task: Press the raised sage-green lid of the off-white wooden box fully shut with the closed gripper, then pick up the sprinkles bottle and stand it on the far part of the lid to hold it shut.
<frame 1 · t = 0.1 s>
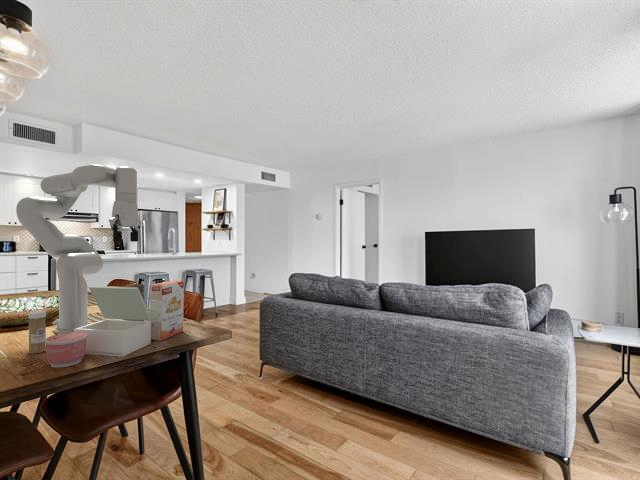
hand: (126, 241, 137), 37 cm above the table, tool pointing down, fingers open, 9 cm apart
container: (66, 363, 105), on the table
cracker box: (167, 336, 135), on the table
lid: (120, 303, 122), point 15 cm above the table, hinge at 60.0°
candle: (133, 335, 135), on the table
sprinkles bottle: (37, 352, 115), on the table
box: (113, 348, 119), on the table
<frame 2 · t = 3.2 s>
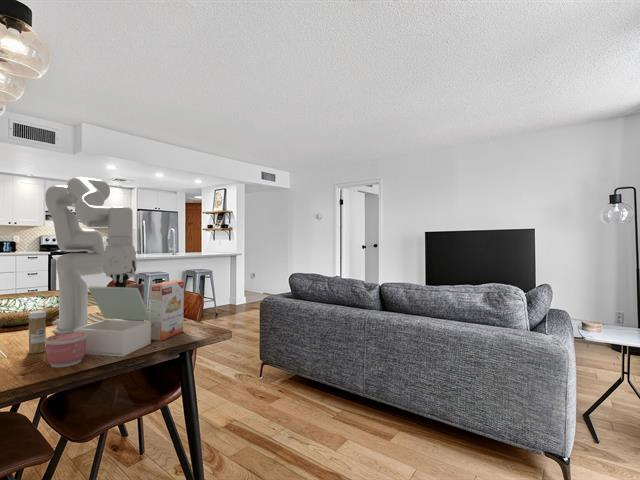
hand: (120, 293, 122), 19 cm above the table, tool pointing down, fingers closed
lid: (120, 303, 122), point 15 cm above the table, hinge at 59.0°, touching gripper
everything else where it was.
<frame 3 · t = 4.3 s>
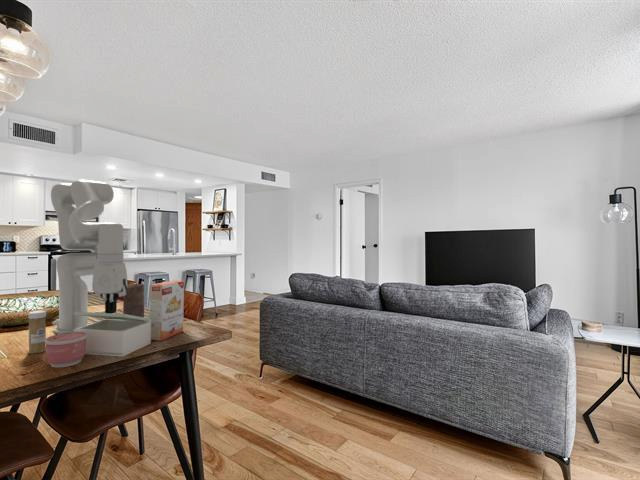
hand: (110, 312, 117), 13 cm above the table, tool pointing down, fingers closed
lid: (114, 316, 119), point 11 cm above the table, hinge at 19.0°, touching gripper
everything else where it was.
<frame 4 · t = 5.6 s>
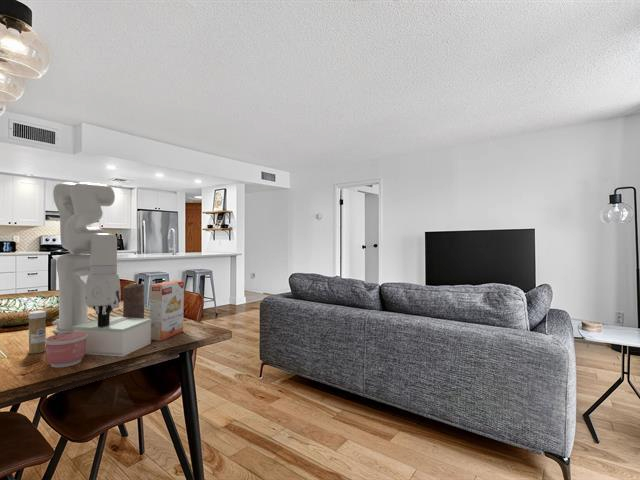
hand: (103, 325, 114), 9 cm above the table, tool pointing down, fingers closed
lid: (113, 323, 119), point 9 cm above the table, hinge at -0.4°, touching box, gripper
everything else where it was.
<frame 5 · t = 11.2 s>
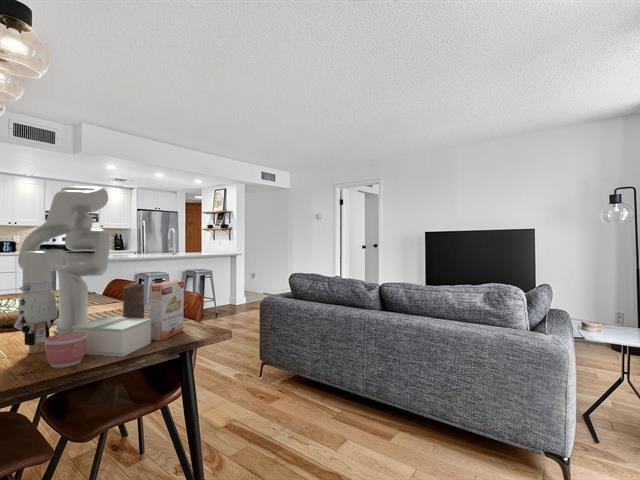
hand: (37, 342, 115), 3 cm above the table, tool pointing down, fingers closed on sprinkles bottle, 4 cm apart
lid: (113, 323, 119), point 9 cm above the table, hinge at -0.4°, touching box
sprinkles bottle: (37, 352, 115), on the table, touching gripper
everything else where it was.
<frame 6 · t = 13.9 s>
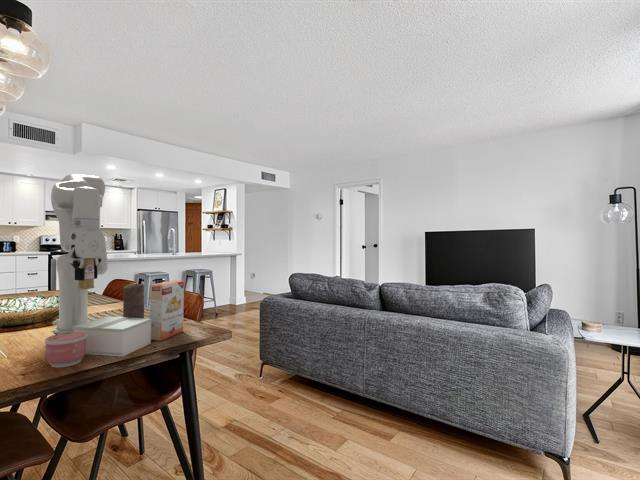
hand: (86, 278, 115), 25 cm above the table, tool pointing down, fingers closed on sprinkles bottle, 4 cm apart
sprinkles bottle: (86, 289, 115), point 21 cm above the table, touching gripper
everything else where it was.
when the fingers open (14 cm above the table, at t = 16.9 s): sprinkles bottle drops 1 cm, resting on lid.
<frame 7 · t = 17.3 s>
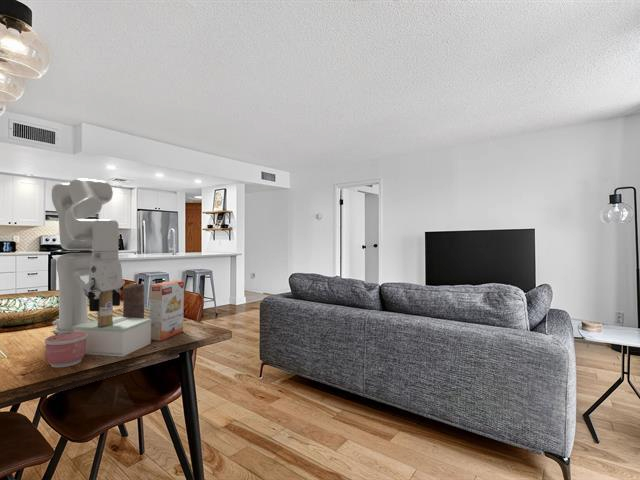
hand: (105, 308, 115), 15 cm above the table, tool pointing down, fingers open, 8 cm apart
lid: (113, 323, 119), point 9 cm above the table, hinge at -0.4°, touching box, sprinkles bottle
sprinkles bottle: (105, 325, 115), point 9 cm above the table, touching lid
everything else where it was.
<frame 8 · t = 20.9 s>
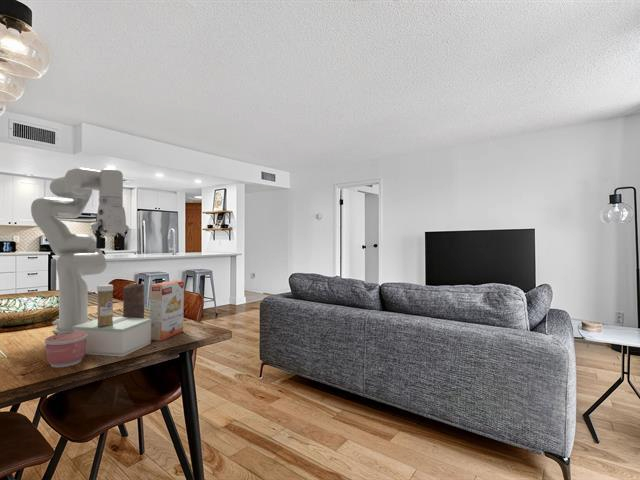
hand: (111, 248, 129), 34 cm above the table, tool pointing down, fingers open, 9 cm apart
nothing on the table moved.
at the end: lid at +0° (first picture: +60°); sprinkles bottle inside the target area on the box (3.3 cm from its centre), point 8.8 cm above the box's base; sprinkles bottle tilted 0° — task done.
